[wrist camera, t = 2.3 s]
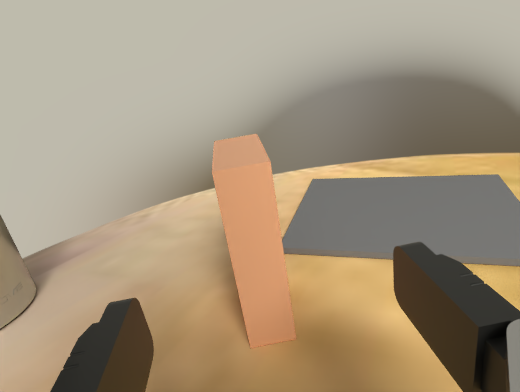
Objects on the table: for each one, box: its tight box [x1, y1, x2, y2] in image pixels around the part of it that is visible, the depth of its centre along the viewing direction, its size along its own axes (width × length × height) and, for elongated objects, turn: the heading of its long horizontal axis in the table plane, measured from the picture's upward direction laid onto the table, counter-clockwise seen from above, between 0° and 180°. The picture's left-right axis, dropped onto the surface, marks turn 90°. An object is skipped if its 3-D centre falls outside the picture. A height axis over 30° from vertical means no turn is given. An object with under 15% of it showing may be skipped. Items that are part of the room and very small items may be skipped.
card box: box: [212, 134, 296, 348], centre depth 23 cm, size 3×7×12 cm, turn 6°
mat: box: [282, 175, 520, 266], centre depth 35 cm, size 21×17×1 cm
